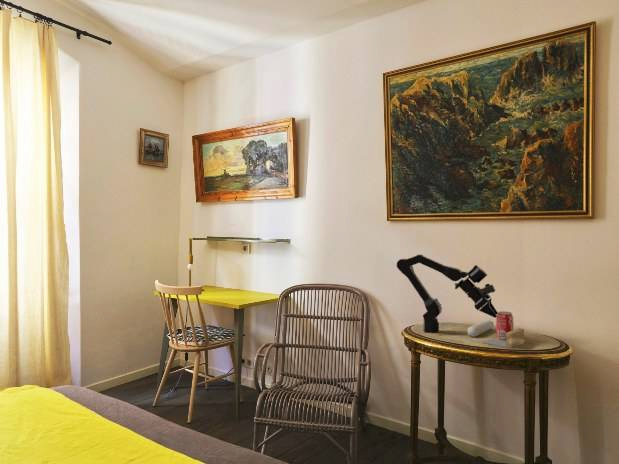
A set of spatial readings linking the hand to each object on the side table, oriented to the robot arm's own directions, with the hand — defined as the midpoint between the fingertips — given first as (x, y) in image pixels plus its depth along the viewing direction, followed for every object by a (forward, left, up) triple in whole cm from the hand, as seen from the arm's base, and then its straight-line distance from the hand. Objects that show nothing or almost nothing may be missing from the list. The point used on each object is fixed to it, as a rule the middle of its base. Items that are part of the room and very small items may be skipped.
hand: (496, 315), depth 199 cm
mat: (-2, -11, -10) cm, 15 cm away
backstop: (+4, -13, -10) cm, 17 cm away
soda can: (+3, -1, -11) cm, 11 cm away
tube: (-4, +11, -11) cm, 16 cm away
